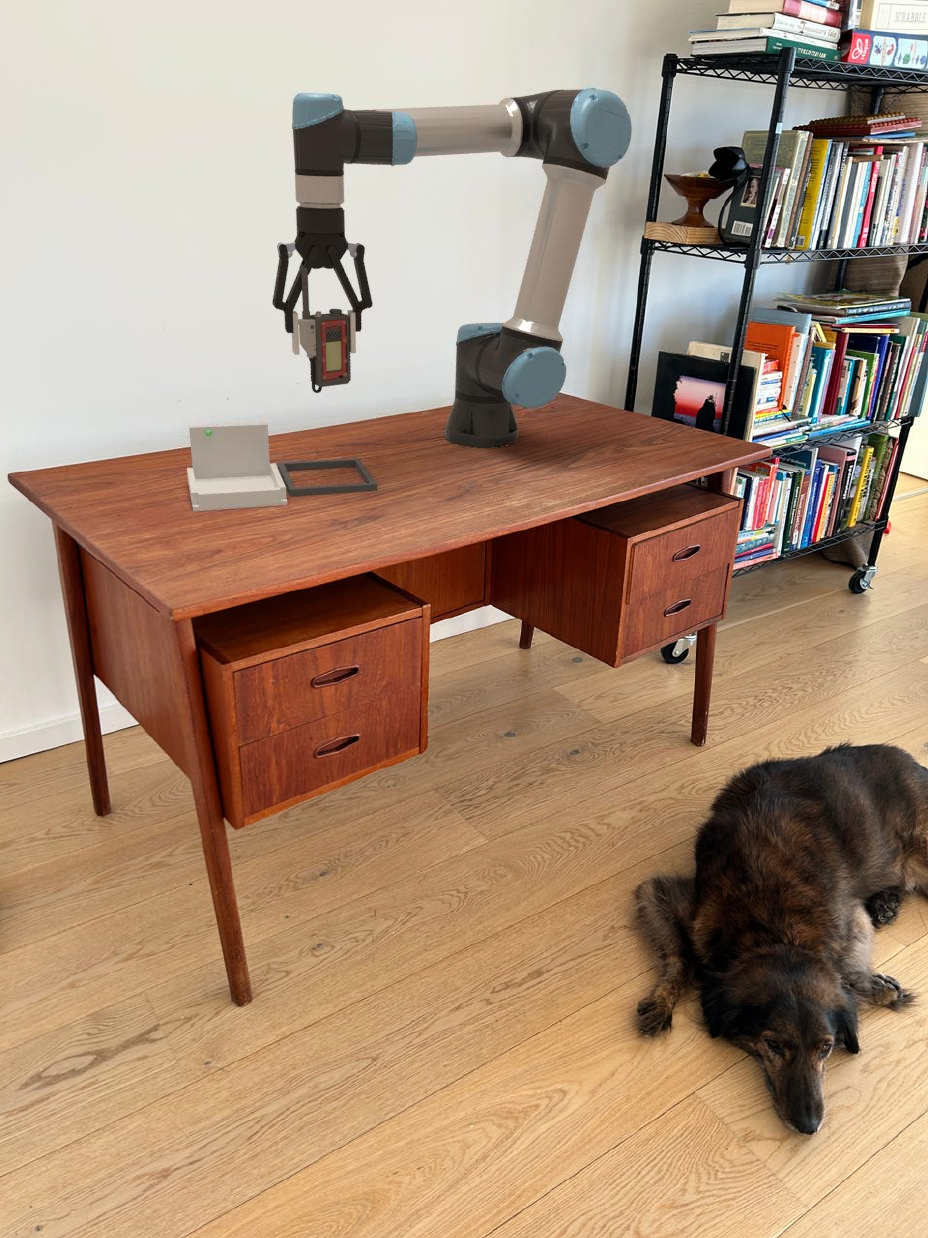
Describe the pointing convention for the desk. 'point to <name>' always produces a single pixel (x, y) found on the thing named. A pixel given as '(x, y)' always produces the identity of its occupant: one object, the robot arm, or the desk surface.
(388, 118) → the robot arm
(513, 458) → the desk surface
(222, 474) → the dock
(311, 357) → the walkie-talkie
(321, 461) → the grey square frame
